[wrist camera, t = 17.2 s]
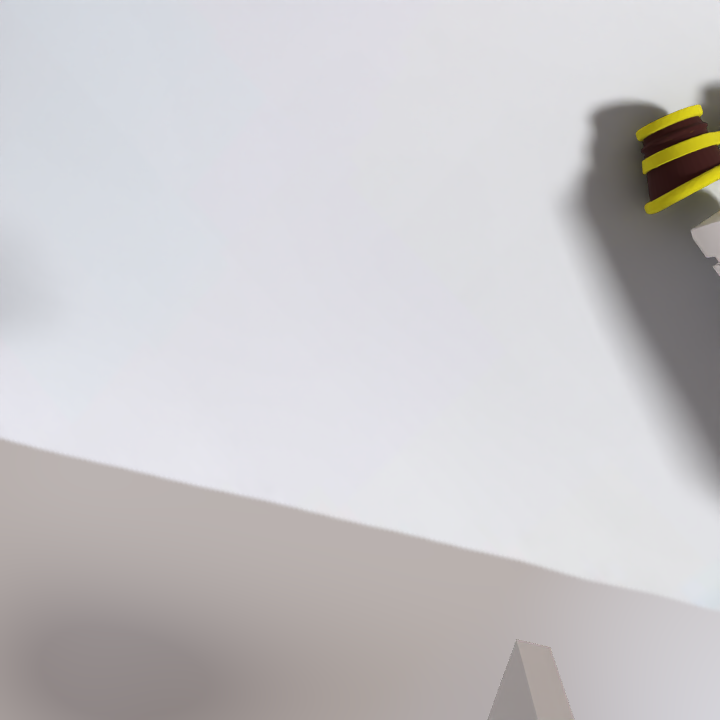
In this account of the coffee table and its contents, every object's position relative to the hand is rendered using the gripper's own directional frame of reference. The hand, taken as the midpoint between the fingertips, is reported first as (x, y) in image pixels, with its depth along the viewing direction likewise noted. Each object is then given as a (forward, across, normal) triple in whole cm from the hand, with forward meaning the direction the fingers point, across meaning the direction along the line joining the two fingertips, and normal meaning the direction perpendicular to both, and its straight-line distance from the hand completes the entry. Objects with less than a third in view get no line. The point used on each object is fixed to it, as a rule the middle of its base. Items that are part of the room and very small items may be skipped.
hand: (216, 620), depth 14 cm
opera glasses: (+29, +19, +16) cm, 38 cm away
